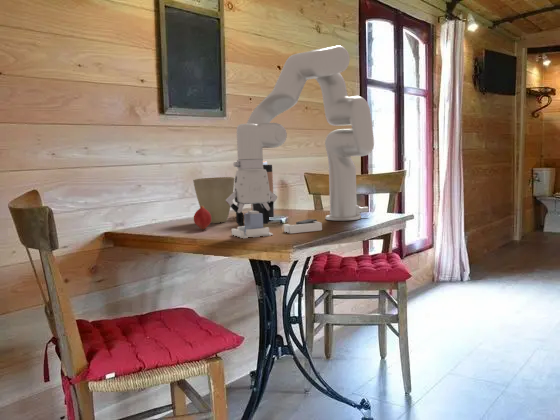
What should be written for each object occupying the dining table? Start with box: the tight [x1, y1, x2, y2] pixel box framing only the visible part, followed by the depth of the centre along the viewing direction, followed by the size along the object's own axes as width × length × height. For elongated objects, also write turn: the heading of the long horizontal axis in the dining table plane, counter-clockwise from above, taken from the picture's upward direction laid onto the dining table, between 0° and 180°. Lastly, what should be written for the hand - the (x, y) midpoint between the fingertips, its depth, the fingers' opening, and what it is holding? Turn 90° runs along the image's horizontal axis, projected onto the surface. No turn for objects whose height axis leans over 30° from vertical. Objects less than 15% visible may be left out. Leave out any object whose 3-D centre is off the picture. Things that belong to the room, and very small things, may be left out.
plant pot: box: [192, 176, 235, 224], centre depth 210 cm, size 15×15×16 cm
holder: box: [231, 225, 274, 239], centre depth 174 cm, size 10×8×2 cm
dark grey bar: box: [295, 218, 318, 225], centre depth 182 cm, size 9×3×3 cm, turn 148°
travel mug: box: [253, 164, 275, 217], centre depth 210 cm, size 8×8×20 cm
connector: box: [243, 210, 264, 233], centre depth 174 cm, size 4×5×7 cm
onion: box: [193, 206, 212, 231], centre depth 191 cm, size 6×6×8 cm
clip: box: [283, 220, 323, 234], centre depth 180 cm, size 11×4×2 cm, turn 114°
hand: (252, 224), depth 174 cm, fingers open, 7 cm apart
